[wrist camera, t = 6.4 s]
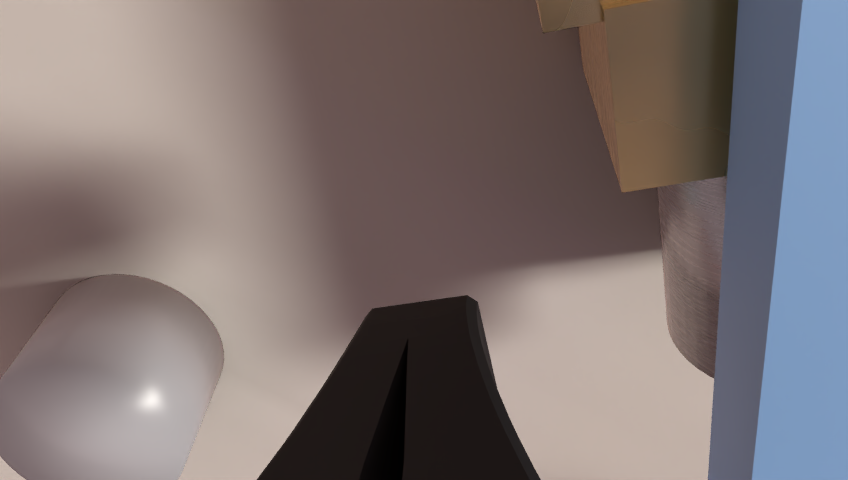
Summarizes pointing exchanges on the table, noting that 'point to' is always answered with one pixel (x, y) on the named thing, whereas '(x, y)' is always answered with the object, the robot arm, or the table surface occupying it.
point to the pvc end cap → (110, 384)
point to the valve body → (667, 133)
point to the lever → (785, 249)
